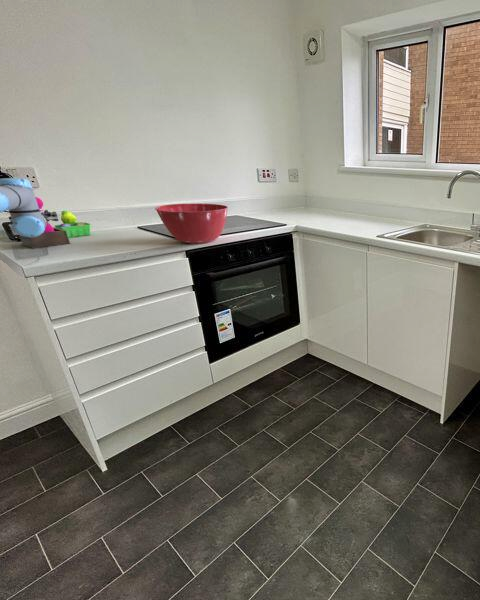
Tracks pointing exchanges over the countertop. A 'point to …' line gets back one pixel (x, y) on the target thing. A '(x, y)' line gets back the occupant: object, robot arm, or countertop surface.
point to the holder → (46, 239)
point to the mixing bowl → (194, 221)
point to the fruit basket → (73, 225)
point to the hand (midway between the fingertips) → (38, 213)
